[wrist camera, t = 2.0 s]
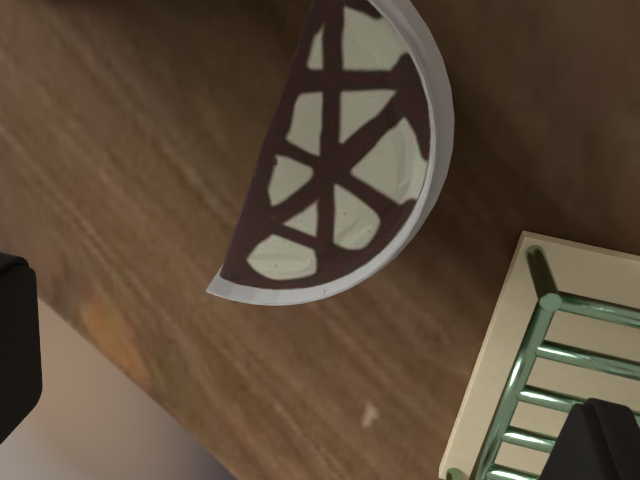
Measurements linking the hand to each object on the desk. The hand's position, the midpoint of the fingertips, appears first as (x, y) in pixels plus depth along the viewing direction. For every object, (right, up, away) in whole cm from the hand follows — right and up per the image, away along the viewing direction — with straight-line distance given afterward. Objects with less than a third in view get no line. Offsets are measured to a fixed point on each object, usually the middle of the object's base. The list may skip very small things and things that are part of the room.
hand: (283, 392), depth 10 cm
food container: (+3, +8, +17) cm, 20 cm away
